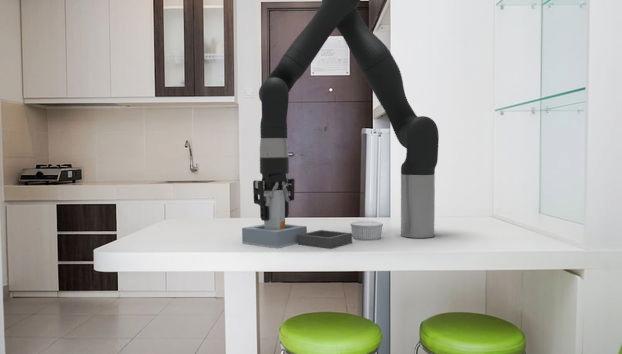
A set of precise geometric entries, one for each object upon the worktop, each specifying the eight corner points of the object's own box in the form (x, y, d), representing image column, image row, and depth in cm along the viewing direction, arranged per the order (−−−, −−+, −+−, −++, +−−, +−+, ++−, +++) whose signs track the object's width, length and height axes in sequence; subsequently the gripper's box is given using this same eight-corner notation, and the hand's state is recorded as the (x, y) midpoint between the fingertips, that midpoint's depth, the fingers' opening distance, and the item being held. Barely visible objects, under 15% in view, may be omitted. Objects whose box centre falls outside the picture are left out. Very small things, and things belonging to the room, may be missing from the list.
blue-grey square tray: (272, 237, 142) (272, 222, 142) (306, 241, 135) (306, 226, 135) (242, 243, 133) (242, 228, 133) (277, 248, 126) (276, 232, 125)
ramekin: (389, 238, 139) (389, 223, 139) (364, 242, 134) (364, 225, 134) (368, 234, 146) (368, 219, 146) (343, 237, 141) (343, 222, 141)
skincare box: (280, 237, 130) (279, 190, 130) (264, 237, 131) (263, 190, 131) (285, 233, 136) (285, 189, 136) (270, 233, 137) (269, 189, 137)
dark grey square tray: (320, 239, 138) (320, 229, 138) (351, 242, 132) (351, 233, 132) (297, 244, 131) (297, 234, 130) (329, 248, 124) (329, 238, 124)
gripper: (266, 156, 125) (267, 223, 126) (302, 155, 136) (303, 217, 137) (244, 156, 129) (245, 221, 130) (281, 155, 141) (281, 215, 142)
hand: (275, 218), depth 134 cm, fingers closed on skincare box, 7 cm apart
